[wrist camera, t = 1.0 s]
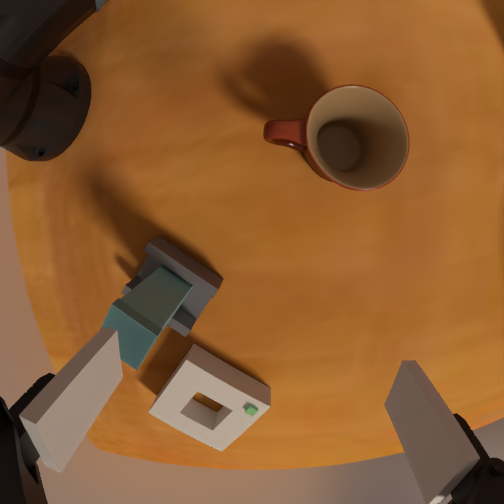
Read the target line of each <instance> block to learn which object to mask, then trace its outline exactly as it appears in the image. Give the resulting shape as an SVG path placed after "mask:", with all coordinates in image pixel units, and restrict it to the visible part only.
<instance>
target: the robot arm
mask: <svg viewBox="0 0 504 504" xmlns="http://www.w3.org/2000/svg"><path fill="white" fill-rule="evenodd" d="M107 1H108V0H0V147H3V148H5V149H6V150H8V151H10V152H11V153H13V154H15V155H17V156H18V157H20V158H22V159H24V160H28V161H48V160H51V159H53V158H55V157H57V156H59V155H60V154H61V153H63V152H64V151H65V150H66V149H67V148H68V147H69V146H70V145H71V144H72V142H73V141H74V140H75V138H76V137H77V135H78V134H79V132H80V130H81V128H82V126H83V124H84V122H85V119H86V117H87V114H88V110H89V106H90V100H91V83H90V79H89V75H88V73H87V71H86V70H85V68H84V67H83V66H82V65H81V64H80V63H78V62H76V61H75V60H73V59H71V58H69V57H65V56H48V55H49V54H50V52H51V51H52V50H53V49H54V48H55V47H56V46H57V45H58V44H59V43H60V42H61V41H63V40H64V39H65V38H66V37H67V36H68V35H69V34H70V33H71V32H72V31H73V30H75V29H76V28H77V27H78V26H79V25H80V24H81V23H83V22H84V21H85V20H86V19H87V18H88V17H90V16H91V15H92V14H93V13H95V12H98V11H99V10H100V9H101V7H102V6H103V5H104V4H105V3H106V2H107ZM122 378H123V374H122V367H121V359H120V351H119V342H118V332H117V330H114V329H110V328H105V327H103V328H102V329H101V330H100V331H99V332H98V333H97V334H96V335H95V336H94V337H93V338H92V339H91V340H90V341H89V342H88V343H87V344H86V345H85V346H84V347H83V348H82V349H81V350H80V351H79V352H78V353H77V354H76V355H75V356H74V357H73V358H72V359H71V360H70V361H69V362H68V363H67V364H66V365H65V366H64V367H63V368H62V369H61V370H60V371H59V372H58V373H57V375H54V374H51V373H48V374H46V375H44V376H42V377H40V378H39V379H38V380H37V381H36V382H35V383H34V384H33V386H32V387H30V388H29V389H28V390H27V393H24V394H23V396H21V398H20V399H19V400H18V401H17V402H16V403H15V404H14V405H13V406H12V407H11V408H10V409H9V410H8V408H7V405H6V403H5V401H4V400H3V399H2V397H0V504H48V503H47V500H46V496H45V492H44V488H43V485H42V481H41V477H40V472H39V468H38V465H37V463H36V461H37V459H38V458H39V457H41V459H42V461H43V463H44V464H45V466H47V467H49V468H51V469H53V470H55V471H57V472H59V473H62V471H63V470H64V468H65V466H66V465H67V463H68V462H69V460H70V458H71V457H72V455H73V454H74V452H75V450H76V449H77V447H78V446H79V444H80V443H81V441H82V439H83V438H84V436H85V435H86V433H87V432H88V430H89V428H90V427H91V425H92V424H93V422H94V421H95V419H96V418H97V416H98V414H99V413H100V411H101V410H102V408H103V407H104V405H105V404H106V402H107V401H108V399H109V398H110V396H111V395H112V393H113V392H114V390H115V389H116V387H117V386H118V384H119V383H120V381H121V380H122ZM384 405H385V407H386V409H387V412H388V414H389V416H390V418H391V421H392V423H393V425H394V427H395V430H396V432H397V434H398V437H399V439H400V441H401V444H402V446H403V448H404V451H405V453H406V455H407V458H408V460H409V463H410V465H411V468H412V470H413V473H414V475H415V478H416V480H417V483H418V485H419V488H420V490H421V493H422V496H423V498H424V501H425V503H426V504H436V503H440V502H442V501H443V500H444V499H445V498H446V497H447V496H448V495H449V494H451V496H452V498H453V499H452V500H451V501H450V502H449V503H448V504H504V462H503V461H502V460H501V459H498V458H490V457H489V456H488V454H487V453H486V451H485V450H484V448H483V447H482V445H481V443H480V442H479V440H478V439H477V437H476V436H474V433H473V431H472V430H470V427H469V425H468V424H467V422H466V421H465V419H463V418H462V417H461V416H460V415H458V414H457V413H456V414H452V412H451V411H450V409H449V408H448V406H447V405H446V403H445V402H444V400H443V399H442V397H441V396H440V394H439V393H438V392H437V390H436V389H435V387H434V386H433V384H432V383H431V381H430V380H429V379H428V377H427V376H426V374H425V373H424V371H423V370H422V369H421V367H420V366H419V364H418V363H417V362H416V360H412V361H402V363H401V366H400V368H399V371H398V373H397V376H396V378H395V381H394V383H393V386H392V388H391V391H390V393H389V395H388V397H387V400H386V402H385V404H384Z"/></svg>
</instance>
